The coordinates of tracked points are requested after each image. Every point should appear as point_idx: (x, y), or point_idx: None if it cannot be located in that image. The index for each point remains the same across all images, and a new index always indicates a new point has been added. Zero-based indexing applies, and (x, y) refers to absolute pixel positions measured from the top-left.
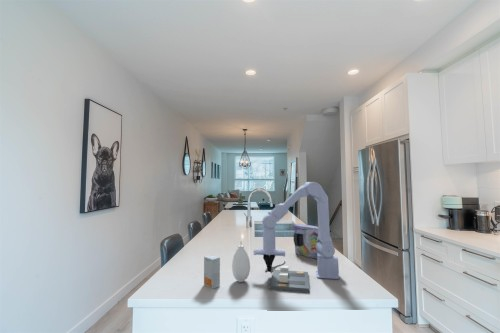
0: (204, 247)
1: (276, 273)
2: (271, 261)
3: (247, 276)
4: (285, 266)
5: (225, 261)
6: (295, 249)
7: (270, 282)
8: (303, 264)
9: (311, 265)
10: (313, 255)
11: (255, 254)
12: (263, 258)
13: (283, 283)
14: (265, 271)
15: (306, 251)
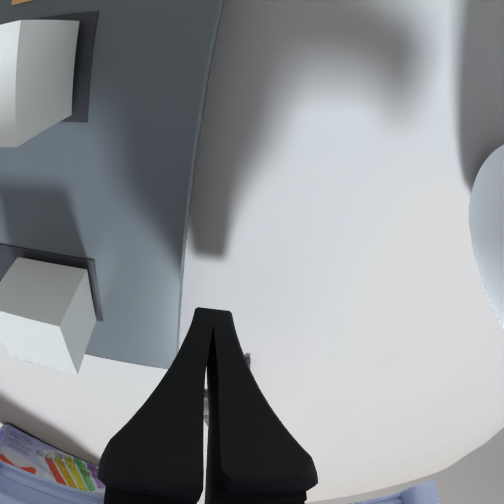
0: (436, 464)
1: (136, 302)
2: (163, 416)
3: (498, 163)
4: (25, 348)
5: (434, 422)
6: None
7: (205, 16)
8: (41, 410)
9: (6, 395)
10: (30, 446)
11: (415, 491)
12: (312, 462)
13: (39, 18)
14: (248, 363)
15: (60, 469)
